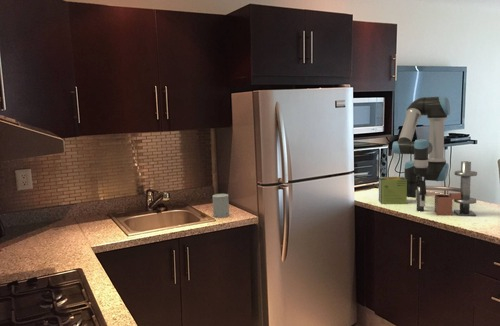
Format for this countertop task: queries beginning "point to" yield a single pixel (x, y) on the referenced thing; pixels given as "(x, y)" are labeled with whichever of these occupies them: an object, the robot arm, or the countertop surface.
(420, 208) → the dark grey cylinder
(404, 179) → the protein box
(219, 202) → the grey-green cylinder
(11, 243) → the countertop surface
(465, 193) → the post with bracket
